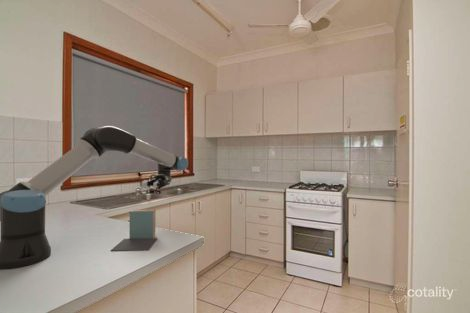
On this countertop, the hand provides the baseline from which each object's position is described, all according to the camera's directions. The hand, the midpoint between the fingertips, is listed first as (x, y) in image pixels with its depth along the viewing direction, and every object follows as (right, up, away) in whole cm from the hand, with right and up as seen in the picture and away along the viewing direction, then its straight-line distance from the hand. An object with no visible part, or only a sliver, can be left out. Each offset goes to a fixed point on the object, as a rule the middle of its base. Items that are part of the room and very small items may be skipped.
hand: (148, 185), depth 114 cm
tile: (0, -22, -8) cm, 23 cm away
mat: (+1, -22, -17) cm, 28 cm away
